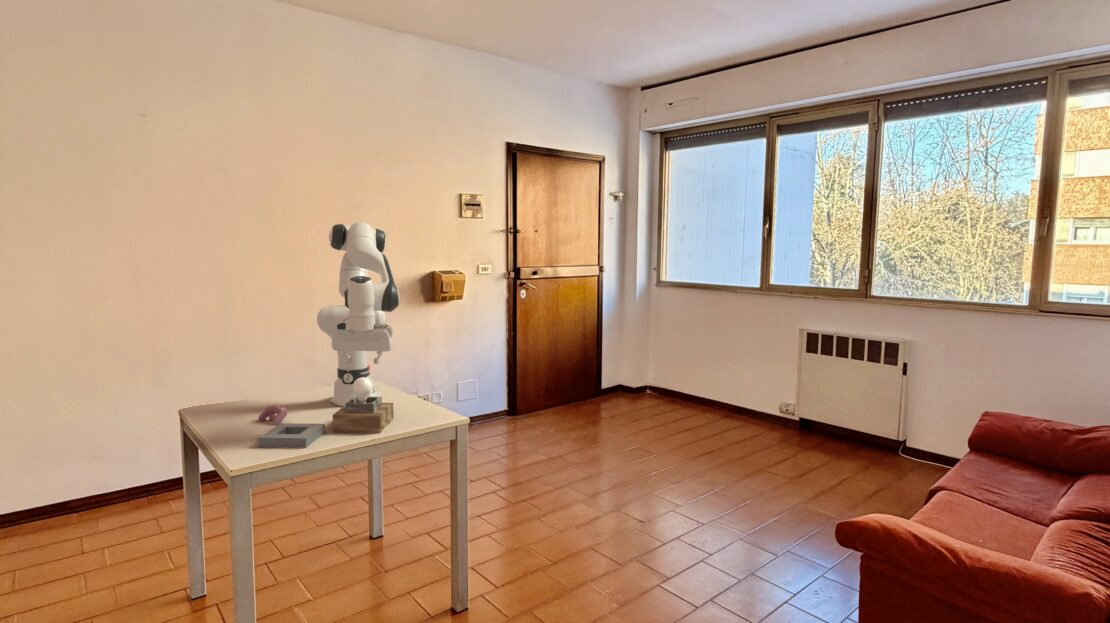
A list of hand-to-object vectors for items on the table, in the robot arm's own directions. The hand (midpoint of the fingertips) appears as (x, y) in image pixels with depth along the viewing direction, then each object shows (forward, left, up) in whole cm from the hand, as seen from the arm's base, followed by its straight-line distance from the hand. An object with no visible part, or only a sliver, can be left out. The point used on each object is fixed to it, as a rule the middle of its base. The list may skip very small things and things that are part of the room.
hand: (363, 363), depth 207 cm
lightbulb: (0, -1, -16) cm, 16 cm away
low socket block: (+16, -18, -22) cm, 33 cm away
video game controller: (-3, -33, -22) cm, 40 cm away
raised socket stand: (0, 0, -22) cm, 22 cm away
